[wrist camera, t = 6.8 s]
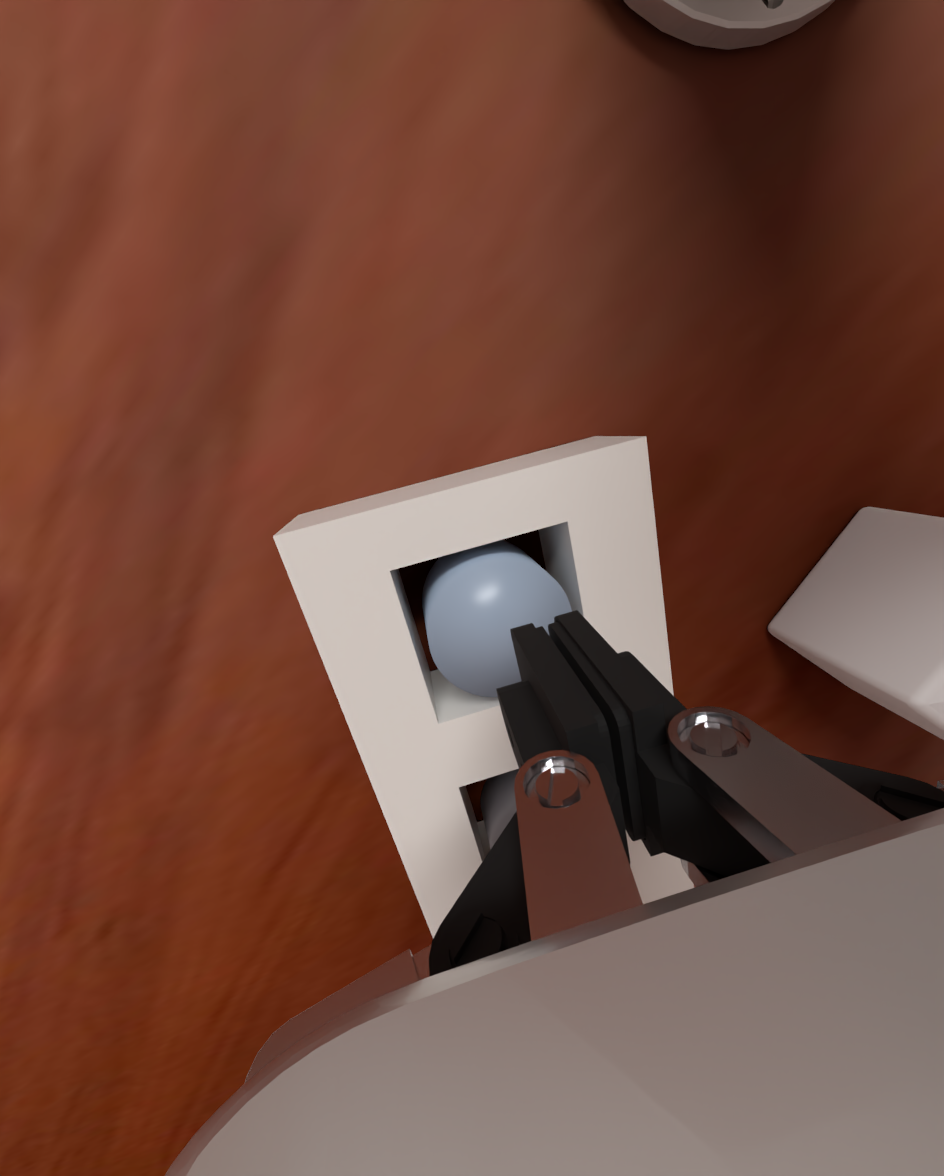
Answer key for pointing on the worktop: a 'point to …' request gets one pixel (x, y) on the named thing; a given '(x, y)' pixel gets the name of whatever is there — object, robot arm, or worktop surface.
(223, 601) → the worktop surface
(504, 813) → the charcoal button
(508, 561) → the slate button
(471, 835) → the frame
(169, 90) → the worktop surface
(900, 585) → the medicine bottle
